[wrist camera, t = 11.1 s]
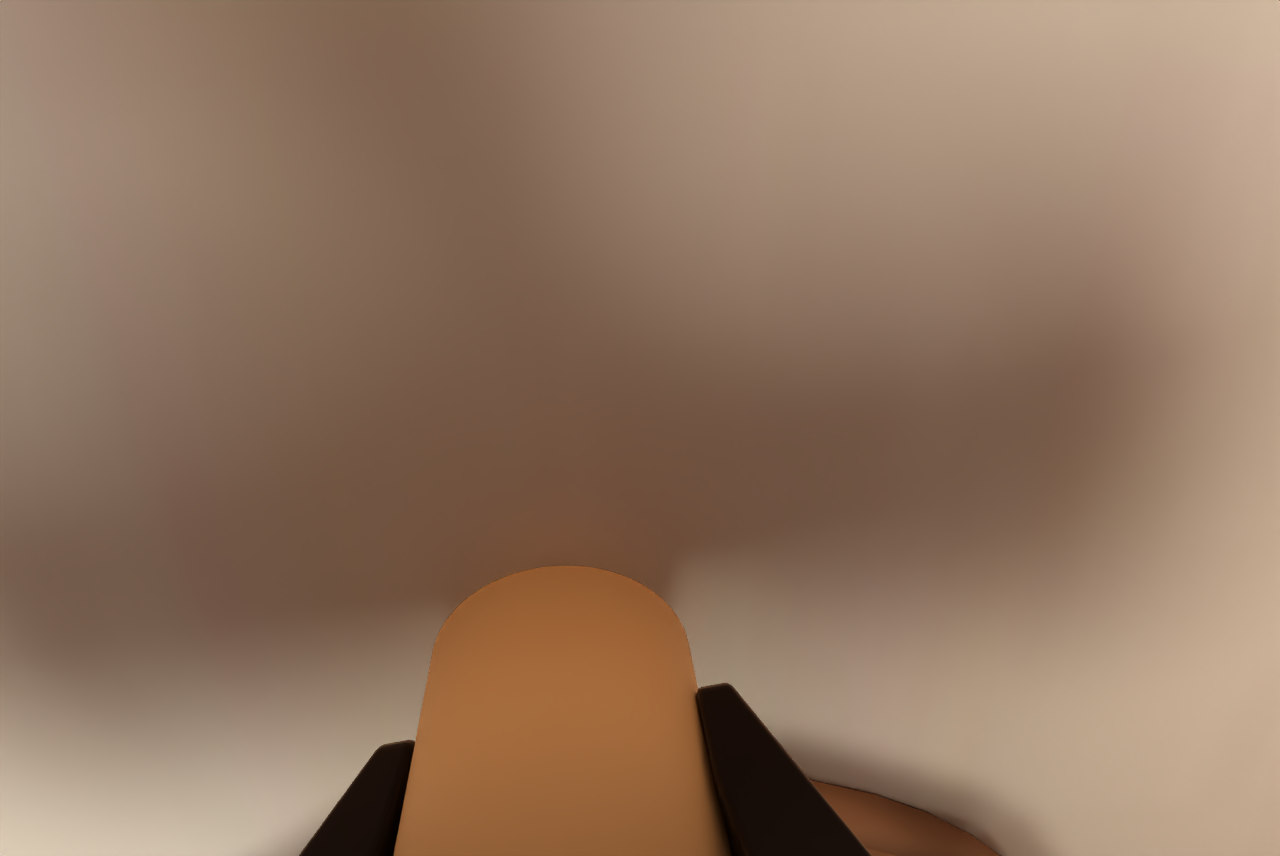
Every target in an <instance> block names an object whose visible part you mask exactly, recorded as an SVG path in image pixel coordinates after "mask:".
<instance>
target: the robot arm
mask: <svg viewBox="0 0 1280 856" xmlns="http://www.w3.org/2000/svg"><path fill="white" fill-rule="evenodd" d="M697 699H698V704H699V709H700V714H701V719H702V724H703V729H704V734H705V739H706V744H707V749H708V754H709V759H710V764H711V769H712V774H713V779H714V784H715V788H716V792H717V796H718V801H719V805H720V808H721V812H722V816H723V820H724V824H725V828H726V831H727V835H728V839H729V843H730V848H731V853H732V856H872V855H871V854H870V853H869V851H868V850H867V849H866V848H865V847H864V845H863V844H862V843H861V842H860V840H859V839H858V838H857V837H856V836H855V834H854V833H853V832H852V831H851V830H850V828H849V827H848V826H847V825H846V823H845V822H844V821H843V820H842V819H841V817H840V816H839V815H838V814H837V812H836V811H835V810H834V809H833V808H832V806H831V805H830V804H829V803H828V802H827V800H826V799H825V798H824V797H823V795H822V794H821V793H820V792H819V791H818V789H817V788H816V787H815V786H814V785H813V783H812V782H811V781H810V780H809V778H808V777H807V776H806V775H805V774H804V772H803V771H802V770H801V769H800V767H799V766H798V765H797V764H796V763H795V761H794V760H793V759H792V758H791V757H790V755H789V754H788V753H787V752H786V750H785V749H784V748H783V747H782V746H781V744H780V743H779V742H778V741H777V740H776V738H775V737H774V736H773V735H772V733H771V732H770V731H769V730H768V729H767V727H766V726H765V725H764V724H763V722H762V721H761V720H760V719H759V718H758V716H757V715H756V714H755V713H754V712H753V710H752V709H751V708H750V707H749V705H748V704H747V703H746V702H745V701H744V699H743V698H742V697H741V696H740V695H739V693H738V692H737V691H736V690H735V688H734V687H733V686H731V685H730V684H728V683H721V684H715V685H710V686H704V687H701V688H699V689H698V691H697ZM414 746H415V741H413V740H406V741H400V742H394V743H389V744H384V745H382V746H380V747H379V748H378V749H377V750H376V751H375V752H374V754H373V755H372V756H371V758H370V759H369V761H368V762H367V763H366V765H365V766H364V767H363V769H362V770H361V771H360V773H359V774H358V776H357V777H356V778H355V780H354V781H353V782H352V784H351V785H350V786H349V788H348V789H347V791H346V792H345V793H344V795H343V796H342V797H341V799H340V800H339V802H338V803H337V804H336V806H335V807H334V808H333V810H332V811H331V812H330V814H329V815H328V817H327V818H326V819H325V821H324V822H323V823H322V825H321V826H320V828H319V829H318V830H317V832H316V833H315V834H314V836H313V837H312V838H311V840H310V841H309V843H308V844H307V845H306V847H305V848H304V849H303V851H302V852H301V854H300V855H299V856H393V855H394V850H395V845H396V840H397V834H398V829H399V824H400V819H401V814H402V808H403V803H404V798H405V793H406V788H407V782H408V777H409V772H410V767H411V762H412V756H413V751H414Z"/></svg>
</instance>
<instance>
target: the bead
mask: <svg viewBox="0 0 1280 856" xmlns="http://www.w3.org/2000/svg"><path fill="white" fill-rule="evenodd" d="M697 691H698V687H697V682H696V677H695V672H694V668H693V663H692V658H691V653H690V648H689V643H688V639H687V636H686V633H685V630H684V628H683V626H682V624H681V622H680V620H679V618H678V617H677V616H676V614H675V613H674V612H673V610H672V609H671V607H670V606H669V605H668V604H667V603H666V602H665V601H664V600H663V599H662V598H661V597H659V596H658V595H657V594H655V593H654V592H653V591H651V590H650V589H649V588H647V587H645V586H644V585H642V584H640V583H638V582H636V581H635V580H632V579H630V578H628V577H625V576H623V575H620V574H617V573H614V572H610V571H606V570H603V569H597V568H591V567H585V566H567V565H565V566H547V567H541V568H535V569H529V570H525V571H522V572H518V573H514V574H511V575H508V576H506V577H503V578H501V579H498V580H496V581H494V582H492V583H490V584H488V585H486V586H484V587H483V588H481V589H479V590H478V591H476V592H475V593H474V594H472V595H471V596H469V597H468V598H467V599H466V600H464V601H463V602H462V603H461V604H460V605H459V606H458V607H457V608H456V609H455V610H454V611H453V612H452V614H451V615H450V616H449V617H448V619H447V620H446V621H445V623H444V625H443V626H442V628H441V630H440V631H439V633H438V636H437V639H436V641H435V644H434V648H433V653H432V658H431V663H430V668H429V673H428V678H427V684H426V689H425V694H424V699H423V704H422V710H421V715H420V720H419V725H418V730H417V736H416V741H415V746H414V751H413V756H412V762H411V767H410V772H409V777H408V782H407V788H406V793H405V798H404V803H403V808H402V814H401V819H400V824H399V829H398V834H397V840H396V845H395V850H394V855H393V856H732V853H731V848H730V843H729V839H728V835H727V831H726V828H725V824H724V820H723V816H722V812H721V808H720V805H719V801H718V796H717V792H716V788H715V784H714V779H713V774H712V769H711V764H710V759H709V754H708V749H707V744H706V739H705V734H704V729H703V724H702V719H701V714H700V709H699V704H698V699H697Z"/></svg>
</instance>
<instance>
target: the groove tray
mask: <svg viewBox="0 0 1280 856" xmlns="http://www.w3.org/2000/svg"><path fill="white" fill-rule="evenodd" d="M811 782H812V783H813V785H814V786H815V787H816V788H817V789H818V791H819V792H820V793H821V794H822V795H823V797H824V798H825V799H826V800H827V802H828V803H829V804H830V805H831V806H832V808H833V809H834V810H835V811H836V812H837V814H838V815H839V816H840V817H841V819H842V820H843V821H844V822H845V823H846V825H847V826H848V827H849V828H850V830H851V831H852V832H853V833H854V834H855V836H856V837H857V838H858V839H859V840H860V842H861V843H862V844H863V845H864V847H865V848H866V849H867V850H868V851H869V853H870V854H871V855H872V856H1000V855H998V854H997V853H995V852H994V851H993V850H991V849H990V848H989V847H987V846H986V845H985V844H983V843H982V842H980V841H979V840H978V839H976V838H975V837H974V836H972V835H971V834H969V833H967V832H965V831H963V830H961V829H959V828H957V827H955V826H953V825H951V824H949V823H947V822H945V821H943V820H941V819H939V818H937V817H935V816H933V815H931V814H929V813H927V812H924V811H921V810H918V809H915V808H913V807H910V806H907V805H904V804H901V803H898V802H895V801H892V800H889V799H886V798H883V797H881V796H878V795H875V794H871V793H866V792H862V791H857V790H852V789H848V788H843V787H839V786H834V785H829V784H825V783H820V782H815V781H811Z"/></svg>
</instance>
